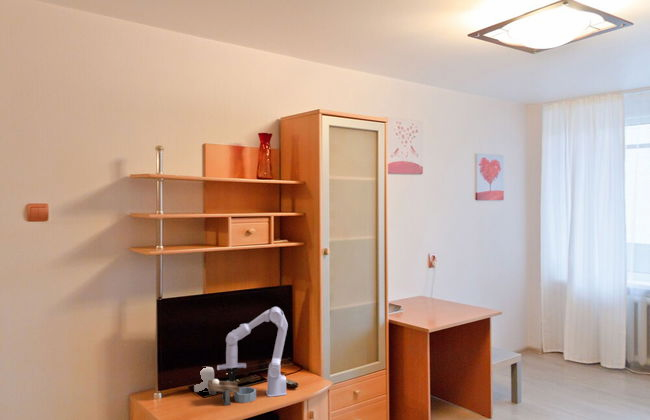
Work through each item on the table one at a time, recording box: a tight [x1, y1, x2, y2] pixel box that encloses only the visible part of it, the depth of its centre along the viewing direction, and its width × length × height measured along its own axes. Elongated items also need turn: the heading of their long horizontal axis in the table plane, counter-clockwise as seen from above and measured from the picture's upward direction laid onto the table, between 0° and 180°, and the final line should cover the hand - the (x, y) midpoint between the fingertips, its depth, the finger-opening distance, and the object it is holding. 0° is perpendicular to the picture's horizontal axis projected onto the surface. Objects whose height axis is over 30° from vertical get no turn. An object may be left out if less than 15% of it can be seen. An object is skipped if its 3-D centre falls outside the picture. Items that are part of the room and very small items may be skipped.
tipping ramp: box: [207, 379, 241, 396], centre depth 255 cm, size 15×15×4 cm
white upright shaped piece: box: [193, 366, 215, 393], centre depth 266 cm, size 10×4×12 cm, turn 104°
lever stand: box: [221, 389, 232, 406], centre depth 252 cm, size 3×12×8 cm, turn 18°
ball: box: [212, 378, 220, 385], centre depth 250 cm, size 4×4×4 cm
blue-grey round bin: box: [233, 386, 257, 404], centre depth 255 cm, size 11×11×4 cm
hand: (231, 382), depth 260 cm, fingers closed, pressing on tipping ramp
